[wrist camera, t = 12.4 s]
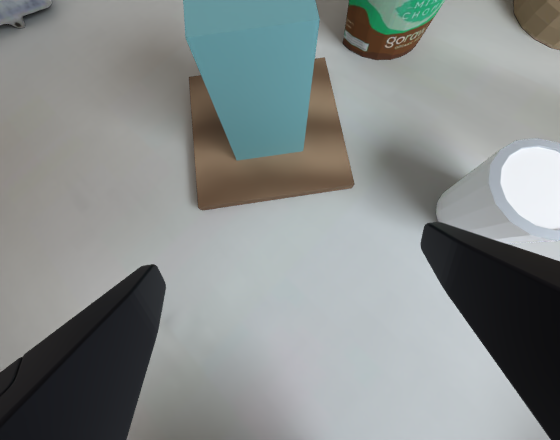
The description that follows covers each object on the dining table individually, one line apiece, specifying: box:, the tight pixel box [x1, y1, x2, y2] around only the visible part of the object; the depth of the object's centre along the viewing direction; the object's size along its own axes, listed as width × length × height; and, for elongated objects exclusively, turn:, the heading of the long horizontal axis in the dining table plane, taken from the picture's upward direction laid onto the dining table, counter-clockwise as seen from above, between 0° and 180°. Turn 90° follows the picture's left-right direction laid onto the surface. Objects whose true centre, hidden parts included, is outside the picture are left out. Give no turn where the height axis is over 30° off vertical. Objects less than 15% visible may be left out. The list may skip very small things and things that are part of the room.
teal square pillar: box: [183, 0, 320, 161], centre depth 18 cm, size 6×6×12 cm
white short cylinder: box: [436, 138, 560, 244], centre depth 19 cm, size 7×7×7 cm
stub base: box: [189, 57, 354, 210], centre depth 23 cm, size 14×14×4 cm
